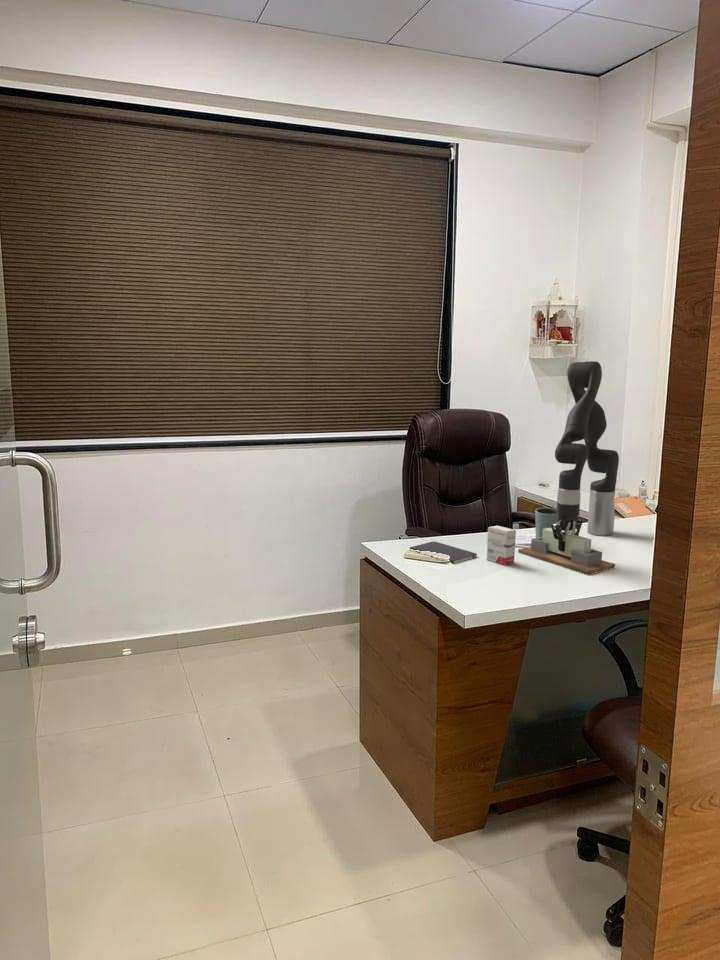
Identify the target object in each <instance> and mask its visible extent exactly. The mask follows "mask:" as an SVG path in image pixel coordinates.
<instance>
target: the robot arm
mask: <svg viewBox="0 0 720 960" xmlns="http://www.w3.org/2000/svg"><path fill="white" fill-rule="evenodd" d="M566 375H567V381H568V386H569V388H570V391H571V393H572V394H571V395H572V397H573V400H574V403H575V405H574V406H573V407H572V408H571V410H569V413H568V415H567V418H566V423H565V428H564V432H563V434H562V436H561V439H560V440H559V442H558V444H557V446H556V448H555V450H554V458H555V460H556V462H557V463H559V464H564V465H565V464H568V465H575V467H574V468H573V469H572V468H571V469H565V470H561V471H560V473H559V477H558V489H557V496H556V509H557V511H556V513H557V514H558V516H559V517H558V520H557V523H555V524H552V525H551V526H552V531H553V535H554V539H557V540H558V541H559V542H558V549H559V551H562V552H564V551H565V539H566V535H567V534H568V533H570V534H574V535H577V536H580V532H581V528H582V525H583V519H580V518H579V519H578V516H580V511H581V509H580V508H581V482H582V474H583V470H584V467H585V464H586V462H587V467H588V469H589V470H590V471H591V472H593V473H600V474H605V475H604V477H603V478H602V479H598V480H594V481H592V482H591V483H590V488H589V502H588V515H587V517H588V518H587V529H586V530H587V533H588V534H591V535H594V536H610V535H612V534H613V533H614V527H615V513H616V510H615V499H616V498H615V496H616V486H617V478H618V469H619V464H620V463H619V462H620V455H619V452H618V451H617V450H612V449H605V448H599V447H598V443H599V440H600V439H601V438H602V436H603V435H604V434H605V431H606V429H607V427H608V426H607V425H608V423H607V419H606V414H605V410H604V408H603V407H602V406H601V405H600V403H598V401H596V398H597V395H598V391H599V389H600V386H601V381H602V379H603V378H602V376H603V369H602V366H601V364H600V362H598V361H596V360H595V361H593V360H591V361H576V362H571V363H570V364H569V365H568V366H567V371H566ZM582 440H583V441H584V443H576V442H579V441H582ZM561 534H563V537H562V536H561ZM557 535H558V536H557Z"/></svg>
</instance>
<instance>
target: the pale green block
mask: <svg viewBox="0 0 720 960" xmlns="http://www.w3.org/2000/svg"><path fill="white" fill-rule="evenodd" d="M557 536H558V535H557ZM561 536H562V537H563V534H561ZM542 541H544V542H548V543H549V544H548V550H549V551H552V552H555V553H559V554H562V555H565V556H568V557H571V551H572V550H575V551H578V552H582V553H585V554H590V552H591V549H592V539H590V538H589V537H584V536H581V535H578V536H577V535H574V534H571V533H568V534H567V535H566V539H565V551H564V552H562V551H559V549H558V542H559V541H558V540H557V539H554V535H553V531H552V528H546V529H543V535H542Z"/></svg>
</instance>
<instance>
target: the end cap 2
mask: <svg viewBox="0 0 720 960" xmlns="http://www.w3.org/2000/svg"><path fill="white" fill-rule="evenodd" d="M602 560H603V551H601V550H598V549H597V550H596V549H593V548H591V552H590V554H585V553H582V552H578V551H575V550H572V551H571V562H572V563H575V564H578V565H581V566H584V567H591V566H594V565H598V564H601V563H602Z"/></svg>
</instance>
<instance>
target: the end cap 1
mask: <svg viewBox="0 0 720 960" xmlns="http://www.w3.org/2000/svg"><path fill="white" fill-rule="evenodd" d="M530 544H531V546H530V547H531V550H533V551H537V552H540V553H543V554H548V544H549V543H548V542H544V541H542V537H538V538H535V537H533V538H531V542H530Z"/></svg>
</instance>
